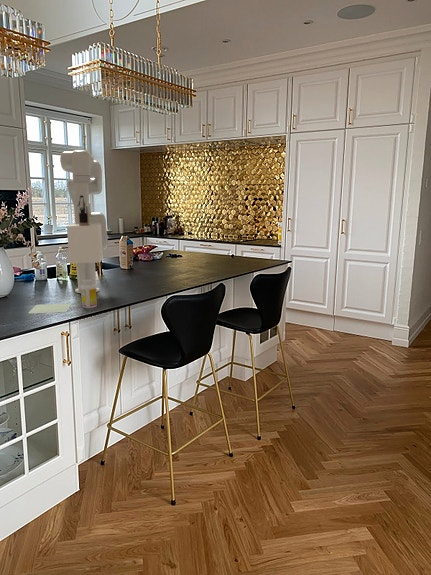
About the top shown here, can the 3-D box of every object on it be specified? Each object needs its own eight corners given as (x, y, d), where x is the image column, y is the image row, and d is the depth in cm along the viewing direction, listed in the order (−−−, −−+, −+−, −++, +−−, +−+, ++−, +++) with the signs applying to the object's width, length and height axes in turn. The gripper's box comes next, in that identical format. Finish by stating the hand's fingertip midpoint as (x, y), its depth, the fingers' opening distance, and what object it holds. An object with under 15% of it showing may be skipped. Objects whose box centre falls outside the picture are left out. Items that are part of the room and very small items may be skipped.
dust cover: (73, 258, 205) (70, 211, 200) (102, 258, 207) (100, 210, 202) (69, 263, 192) (65, 212, 188) (100, 262, 194) (97, 211, 190)
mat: (36, 305, 206) (36, 304, 206) (71, 304, 209) (71, 303, 209) (27, 314, 191) (27, 313, 191) (66, 312, 194) (66, 311, 193)
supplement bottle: (98, 305, 207) (97, 278, 204) (95, 308, 201) (93, 281, 198) (84, 305, 207) (82, 278, 204) (80, 308, 200) (78, 281, 198)
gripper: (75, 180, 200) (78, 221, 203) (70, 179, 184) (72, 223, 187) (92, 180, 201) (95, 221, 205) (88, 179, 185) (91, 223, 188)
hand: (84, 221), depth 196 cm, fingers closed on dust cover, 4 cm apart
